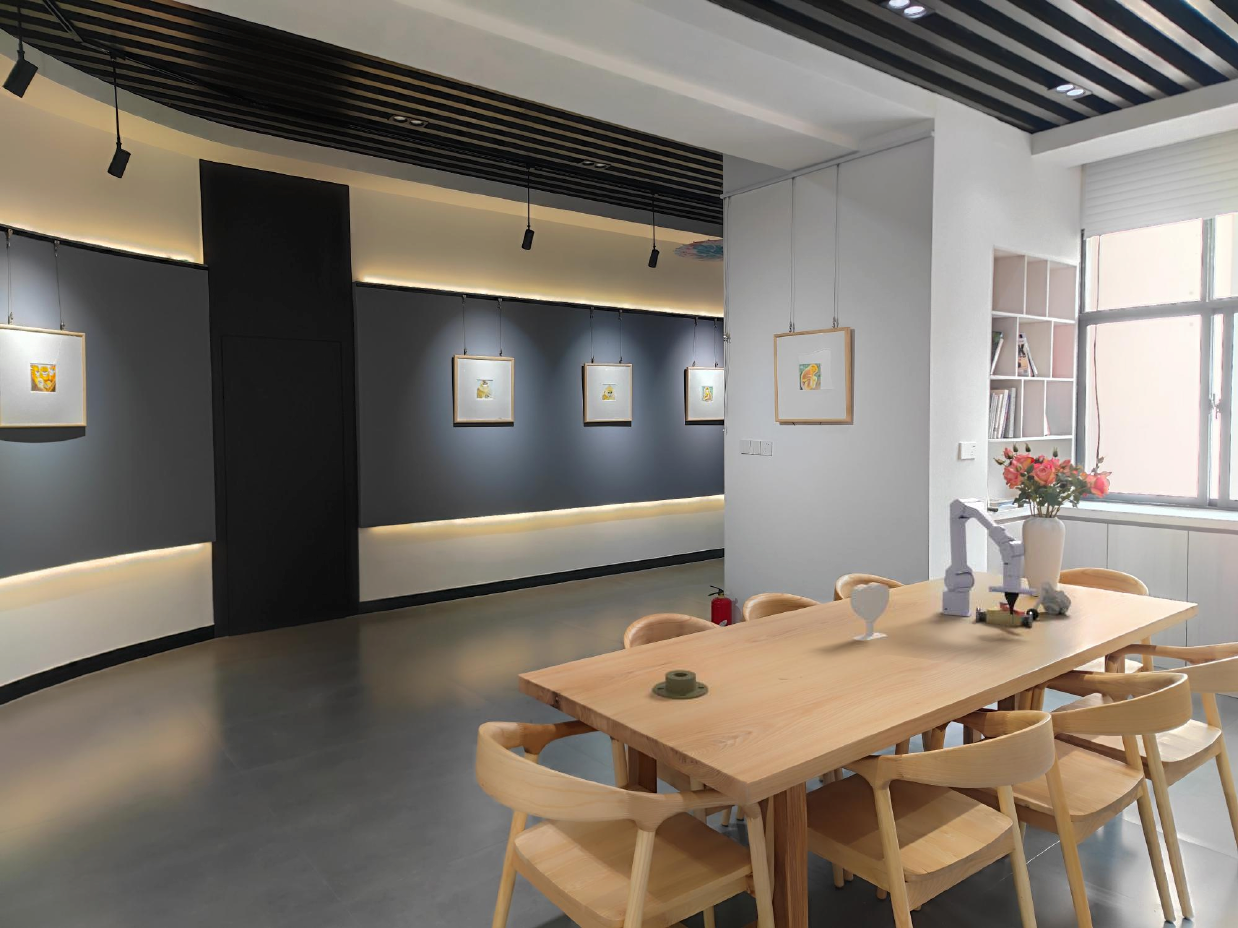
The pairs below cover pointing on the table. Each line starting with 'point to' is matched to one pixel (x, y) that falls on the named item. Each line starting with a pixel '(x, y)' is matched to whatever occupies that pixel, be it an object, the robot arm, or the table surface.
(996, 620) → the valve pipe
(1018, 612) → the lever
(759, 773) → the table surface
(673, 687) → the flange
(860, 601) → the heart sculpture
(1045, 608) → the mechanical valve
